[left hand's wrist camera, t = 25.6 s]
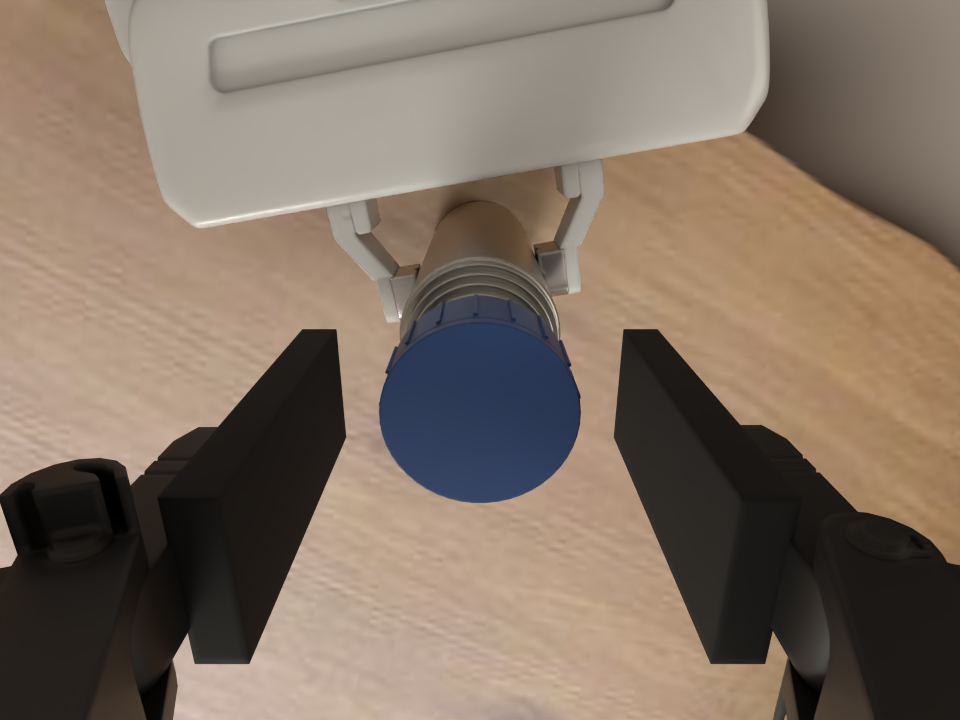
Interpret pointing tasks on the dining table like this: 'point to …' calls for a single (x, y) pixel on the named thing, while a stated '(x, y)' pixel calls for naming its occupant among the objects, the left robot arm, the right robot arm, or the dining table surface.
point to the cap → (479, 401)
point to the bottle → (480, 265)
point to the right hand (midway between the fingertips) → (484, 304)
